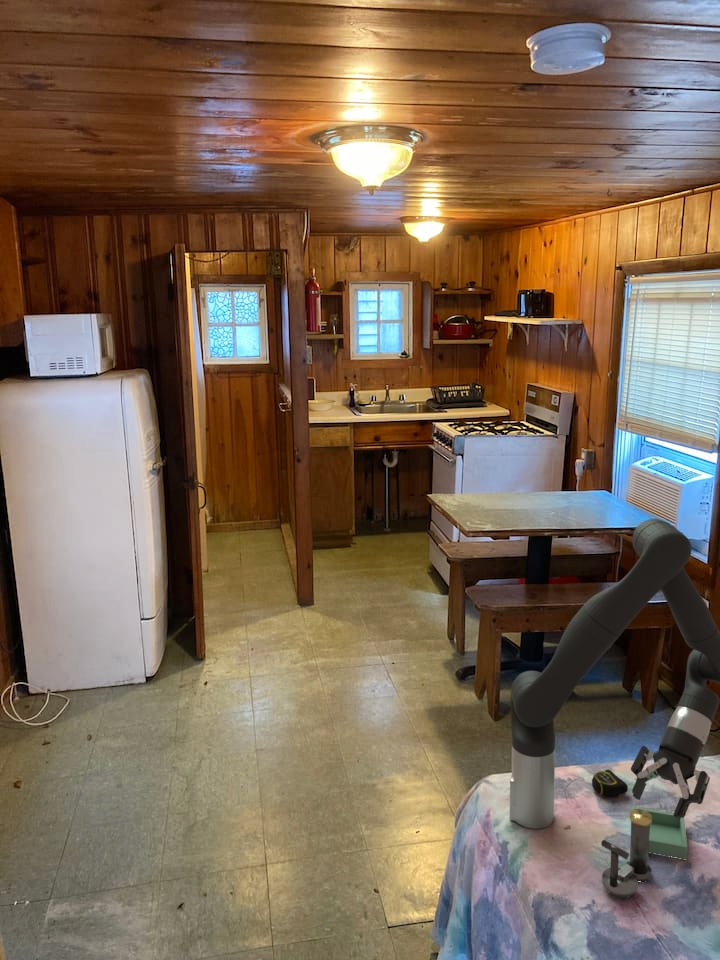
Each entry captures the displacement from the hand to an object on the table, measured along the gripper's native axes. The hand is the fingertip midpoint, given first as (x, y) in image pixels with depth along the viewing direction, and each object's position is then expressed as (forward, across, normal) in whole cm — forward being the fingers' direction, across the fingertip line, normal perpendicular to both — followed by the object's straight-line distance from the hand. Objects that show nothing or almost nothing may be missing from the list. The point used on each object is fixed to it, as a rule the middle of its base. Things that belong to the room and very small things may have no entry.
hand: (655, 807), depth 148 cm
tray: (+4, -2, +13) cm, 14 cm away
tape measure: (-2, -19, +19) cm, 26 cm away
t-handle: (+17, 0, -1) cm, 17 cm away
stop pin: (+12, 0, +4) cm, 13 cm away
